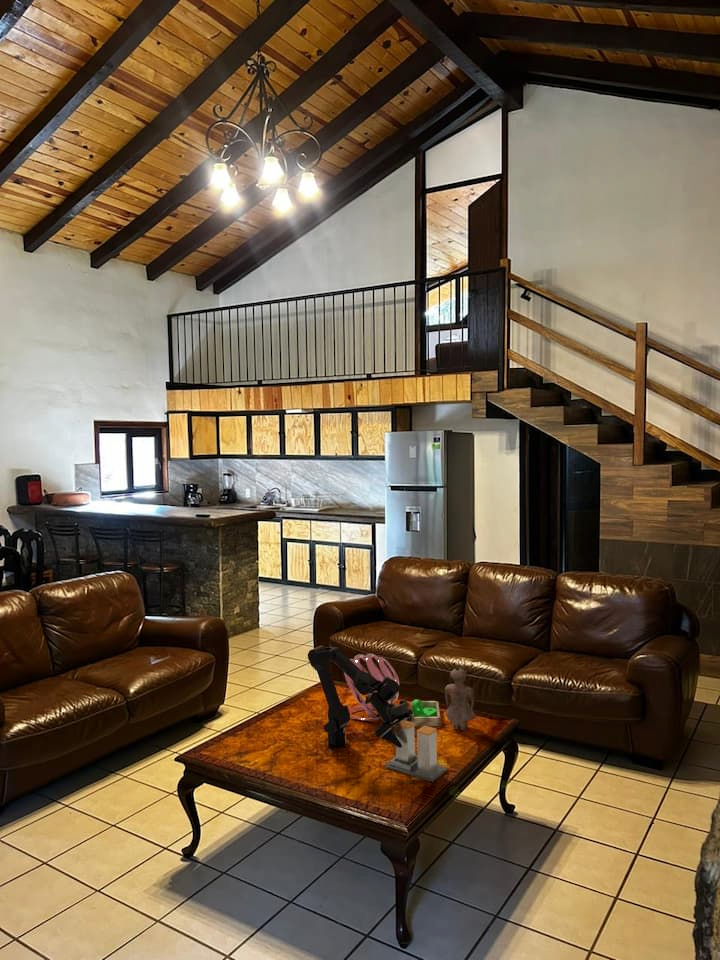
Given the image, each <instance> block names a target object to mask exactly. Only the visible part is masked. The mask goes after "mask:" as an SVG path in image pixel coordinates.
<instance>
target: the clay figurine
mask: <svg viewBox="0 0 720 960" xmlns="http://www.w3.org/2000/svg"><path fill="white" fill-rule="evenodd" d="M449 675H450V678H451V679H452V680H453V682H454V683H450V684H447V685H446V686H445V688H444V696H445V697H444V698H445V704H446V707H447V709H446V711H445V716H446V718H447V719H448V720H449V722H450V723H451V724H452V725H453V726H452V729H456V730H458V729H460V730H461V731H466V730H467V729H468V728H469V726H468V725H467V724H468V721H471V720H473V719H475V718H476V714H475V712H474V706H475V692H474V689H473V688H472V687H470V686H468V685H465V684H464V683H465V681H466V679H467V674H466V671H465V670H464V669H462V668H461V667H460V668H459V667H456V668H454V669H452V670H451V671H450V674H449ZM459 727H460V728H459Z"/></svg>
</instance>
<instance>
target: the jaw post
mask: <svg viewBox="0 0 720 960" xmlns="http://www.w3.org/2000/svg"><path fill="white" fill-rule="evenodd" d="M414 725H415V723H413V722H412V721H411V722H409V721H405V720H402V721H400V722H399V723H397V724H396V725H394V729H395V735H396V737H397V738H398V740H399V741H400V743H401V745H402V747H401V748H399V747H397V746H396V745H395V757H396V761H397V762H400V763H403V764H407V765H411V764H412V763H413V762H415V755H416V743H415V741H416V737H415V736H416V734H415V735H414V733H415V726H414Z"/></svg>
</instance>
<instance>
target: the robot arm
mask: <svg viewBox="0 0 720 960" xmlns="http://www.w3.org/2000/svg"><path fill="white" fill-rule="evenodd" d="M307 659H308V662H309V664H310V666H311V668H313V669H314V670H315V671H316V673H317V675H318V678H319V681H320V685H321V688H322V691H323V694H324V697H325V700H326V703H327V706H328V707H327V708H328V710H327V719H328V720H327V722H326V724H324V726H323V730H324V733H327V746H326V747H327V748H329V749H334V748H336V749H337V748H339V749H343V748H345V745H346V743H347V742H346V741H347V737H346V735H347V733H346V732H347V731H345V728H347V727H348V724H349V723H350V721H351V716H350V715H351V714H352V713H351V712H350V711H349V710H350V709H349V708H348V706H349V705H344V704H343V703H342V702H341V700H340V697H339V693H338V690H337V688H336V684H335V681H334V679H333V675H332V672H331V670H330V664H331V663H330V662H331V661H332V662H333V663H334V664H335V665H336V666H338V668H339V669H340V670H342V671H343V673H344V672H345V673H346V674H347V675H348V676H349V677H350V678H351V679H352V681H353V683H354V686H355V688H356V689H357V690H358V692H359V694H360V695H361V696H365V700H364V701H365V704H367V705H368V704H369V703H370V705H372V706H373V707H374V710H375V712H376V713H377V715H376V716H377V717H381V718H380V719H381V720H382V721H383V723H381V724H380V725H379V726H378V727H377V728H376V729H375V730H374V735H375V737H376V738H377V739H380V740H384V741H386V742H388V743H390V744H392V745H394V746H395V747H396V746H397V747H399V748H401V747H402V745H401V743H400V741H399V740H398V738H397V737H396V732H395V725H396V724H397V723H399V722H400V721H402V720H405V721H409V722H412V717H413V715H412V714H413V712H412V710H411V708H409V706H410V704H409V702H407V700H406V699H401V700H400V701H399V703H398V704H396V705H395V703H394V704H393V703H391V704H390V703H389V701H388V700H390V699H391V698H392V697H394V696H395V695H396V694H397V693H398V692H400V683H399V684H398V683H397V682H396V681H394V680H392V679H390V678H389V677H387V678H386V677H384V678H385V679H384V680H383V682H382V681H379V680H377V679H375V678H374V677H373V676H372V675H371V673H370V672H368V671H367V672H368V673H367V672H364V671H362V670H360V669H359V668H358V667H357V666H356V665H355V664H354V663H353V662H352V661H351V660H350V659H351V658H349V657H348V656H347V655H346V654H345V653H344V652H343V651H342V650H341V648H340V647H337V646H334V647H333V646H327V647H326V646H324V645H319V646H317V647H315V648H312V649H310V650H309V651H308V653H307ZM376 690H377V692H375V691H376ZM369 693H372V694H371V695H368V694H369ZM349 712H350V713H351V714H350V713H349ZM411 715H412V716H411ZM414 735H415V738H417V737H416V736H417V735H416V732H414Z"/></svg>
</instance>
